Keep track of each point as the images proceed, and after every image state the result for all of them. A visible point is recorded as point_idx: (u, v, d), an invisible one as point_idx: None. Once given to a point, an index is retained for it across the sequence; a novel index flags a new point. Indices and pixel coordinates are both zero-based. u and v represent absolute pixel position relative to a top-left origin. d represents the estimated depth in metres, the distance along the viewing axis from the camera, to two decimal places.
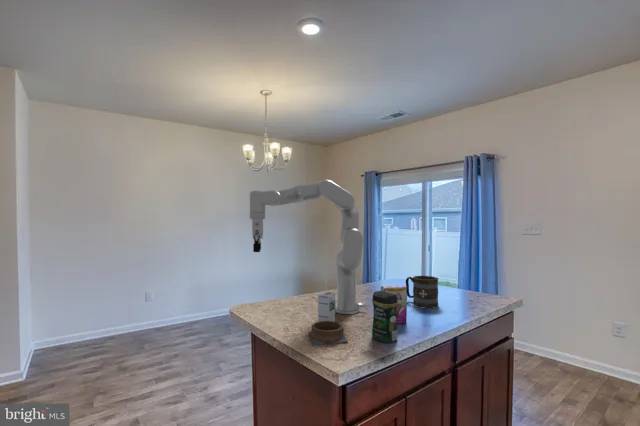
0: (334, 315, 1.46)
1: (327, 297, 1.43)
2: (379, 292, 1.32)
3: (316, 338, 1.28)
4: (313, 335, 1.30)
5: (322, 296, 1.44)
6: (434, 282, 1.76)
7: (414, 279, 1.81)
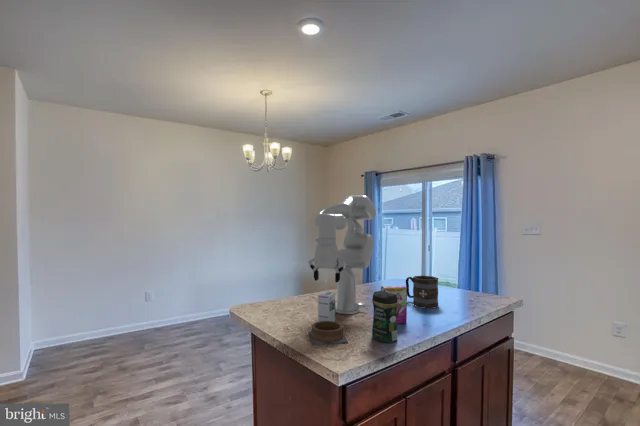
0: (334, 315, 1.46)
1: (327, 297, 1.43)
2: (379, 292, 1.32)
3: (316, 338, 1.28)
4: (313, 335, 1.30)
5: (322, 296, 1.44)
6: (434, 282, 1.76)
7: (414, 279, 1.81)
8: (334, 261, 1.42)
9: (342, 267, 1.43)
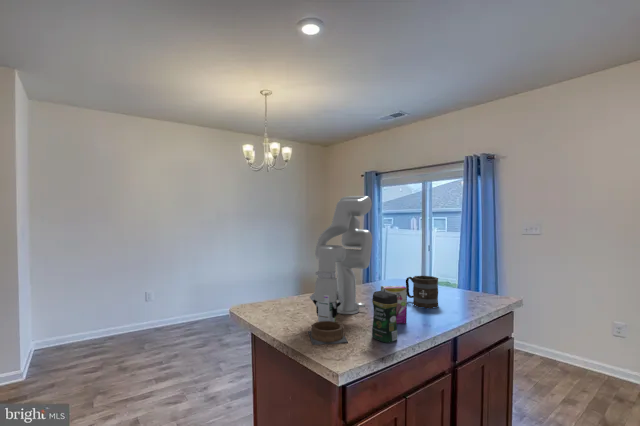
0: None
1: (327, 297, 1.42)
2: (379, 292, 1.32)
3: (316, 338, 1.28)
4: (313, 335, 1.30)
5: None
6: (434, 282, 1.76)
7: (414, 279, 1.81)
8: (334, 295, 1.42)
9: (339, 303, 1.43)
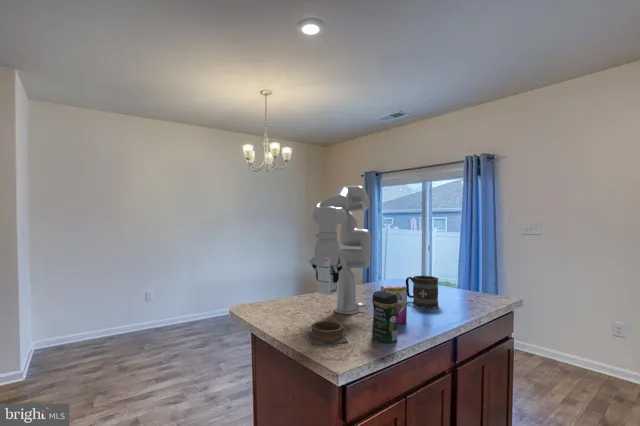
0: None
1: (328, 260, 1.31)
2: (379, 292, 1.32)
3: (316, 338, 1.28)
4: (313, 335, 1.30)
5: None
6: (434, 282, 1.76)
7: (414, 279, 1.81)
8: (335, 258, 1.30)
9: (341, 266, 1.31)
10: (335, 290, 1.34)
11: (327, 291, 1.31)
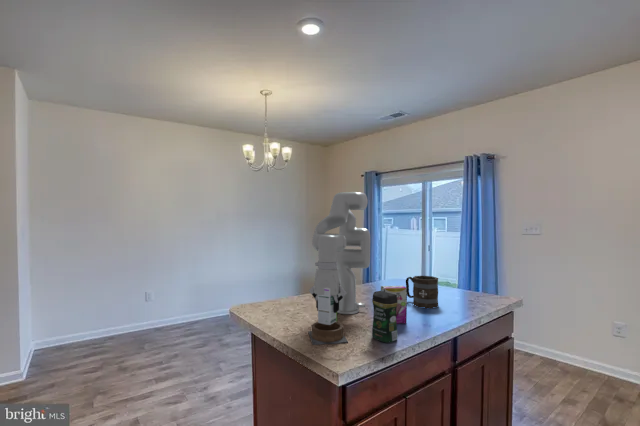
0: None
1: (328, 290, 1.29)
2: (379, 292, 1.32)
3: (316, 338, 1.28)
4: (313, 335, 1.30)
5: None
6: (434, 282, 1.76)
7: (414, 279, 1.81)
8: (336, 288, 1.29)
9: (341, 296, 1.30)
10: (335, 319, 1.33)
11: (327, 322, 1.29)
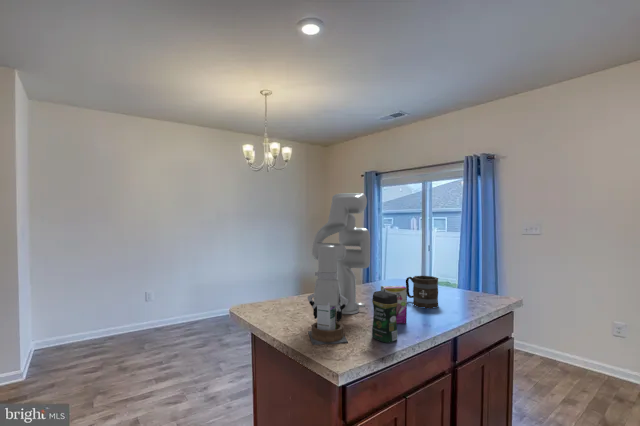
0: (335, 323, 1.33)
1: None
2: (379, 292, 1.32)
3: (316, 338, 1.28)
4: (313, 335, 1.30)
5: None
6: (434, 282, 1.76)
7: (414, 279, 1.81)
8: (336, 298, 1.29)
9: (344, 305, 1.29)
10: None
11: None
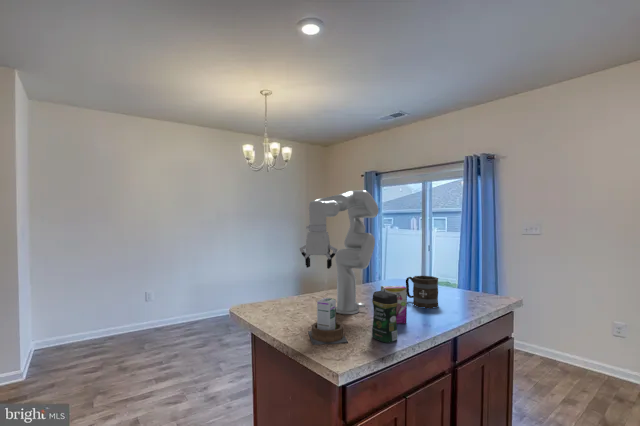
0: (335, 323, 1.33)
1: (327, 304, 1.30)
2: (379, 292, 1.32)
3: (316, 338, 1.28)
4: (313, 335, 1.30)
5: (322, 302, 1.31)
6: (434, 282, 1.76)
7: (414, 279, 1.81)
8: (325, 248, 1.43)
9: (334, 253, 1.44)
10: None
11: None
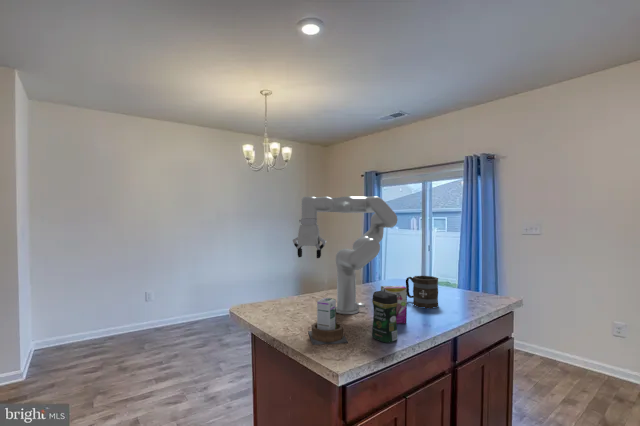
0: (335, 323, 1.33)
1: (327, 304, 1.30)
2: (379, 292, 1.32)
3: (316, 338, 1.28)
4: (313, 335, 1.30)
5: (322, 302, 1.31)
6: (434, 282, 1.76)
7: (414, 279, 1.81)
8: (315, 239, 1.57)
9: (323, 244, 1.58)
10: None
11: None
